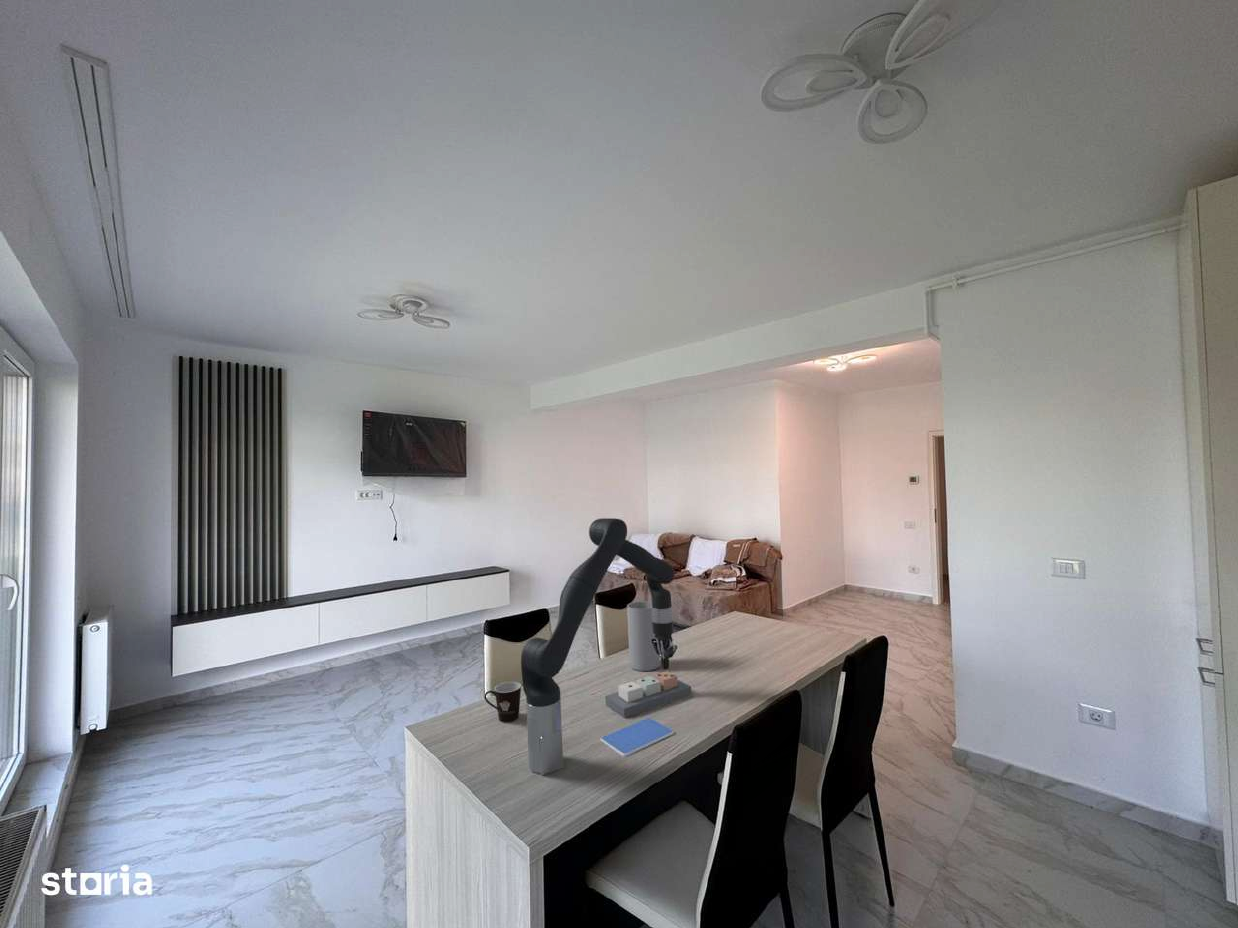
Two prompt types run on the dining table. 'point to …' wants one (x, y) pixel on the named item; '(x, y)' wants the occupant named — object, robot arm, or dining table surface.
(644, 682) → the key two pips
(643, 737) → the blue flat rectangular panel
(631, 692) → the key one pip
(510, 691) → the coffee mug
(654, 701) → the keypad board
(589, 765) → the dining table surface
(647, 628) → the cylinder vase
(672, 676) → the key three pips
